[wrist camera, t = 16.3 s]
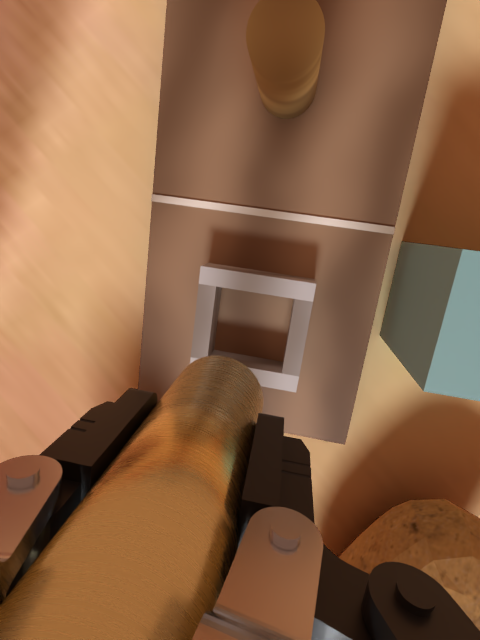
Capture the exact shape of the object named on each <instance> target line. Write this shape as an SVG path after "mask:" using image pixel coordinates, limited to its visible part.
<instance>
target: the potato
mask: <svg viewBox="0 0 480 640" xmlns="http://www.w3.org/2000/svg"><path fill="white" fill-rule="evenodd" d="M339 558H340V559H341V560H343V561H345V562H346V563H348V564H350V565H352V566H354V567H356V568H358V569H360V570H362V571H364V572H366V573H368V574H370V573H371V571H372V570H373V569H374V568H375V567H376V566H377V565H379V564H381V563H384V562H400V563H404V564H408V565H411V566H413V567H415V568H417V569H420V570H421V571H423V572H425V573H426V574H428V575H429V576H431V577H432V578H433V579H435V580H436V581H437V582H438V583H439V584H440V585H441V586H443V588H444V589H445V590H446V591H447V592H448V593H449V594H450V595H451V597H452V598H453V599H454V600H455V601H456V603H457V604H458V605H459V606H460V608H461V609H462V610H463V611H464V612H465V614H466V615H467V616H468V617H469V618H470V620H471V621H472V622H473V623H474V624H475V626H476V627H477V628H478V629H479V630H480V519H479V518H478V517H477V516H475V515H473V514H471V513H469V512H468V511H466V510H464V509H462V508H461V507H459V506H457V505H455V504H454V503H452V502H450V501H448V500H446V499H425V500H409V501H406V502H404V503H402V504H399V505H397V506H394V507H392V508H391V509H389V510H388V511H387V512H386V513H384V514H383V515H382V516H381V517H379V518H378V519H377V520H376V521H374V522H373V523H372V524H371V525H370V526H369V527H368V528H367V529H366V530H365V531H364V532H362V533H361V534H360V535H359V536H358V537H357V538H356V539H355V540H354V541H353V542H352V543H351V544H350V545H349V546H348V548H347V549H346V550H345V551H344V552H343V553H342V554H341V555H340V556H339Z"/></svg>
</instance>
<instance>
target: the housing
mask: <svg viewBox="0 0 480 640" xmlns="http://www.w3.org/2000/svg"><path fill="white" fill-rule="evenodd" d="M380 336H381V338H382V339H383V340H384V341H385V343H386V344H387V345H388V347H389V348H390V349H391V350H392V352H393V353H394V354H395V355H396V357H397V358H398V359H399V361H400V362H401V363H402V364H403V366H404V367H405V368H406V370H407V371H408V372H409V373H410V375H411V376H412V377H413V378H414V380H415V381H416V382H417V384H418V385H419V386H420V387H421V389H422V390H423V391H424V392H430V393H436V394H442V395H447V396H453V397H459V398H464V399H470V400H476V401H480V251H473V250H466V249H458V248H450V247H442V246H434V245H427V244H419V243H411V242H403V241H402V243H401V247H400V252H399V256H398V260H397V265H396V269H395V273H394V277H393V282H392V286H391V290H390V294H389V299H388V303H387V307H386V311H385V316H384V320H383V324H382V328H381V333H380Z"/></svg>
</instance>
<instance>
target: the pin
mask: <svg viewBox="0 0 480 640" xmlns="http://www.w3.org/2000/svg"><path fill="white" fill-rule="evenodd" d="M262 409H263V392H262V388H261V385H260V383H259V381H258V379H257V378H256V376H255V375H254V374H253V372H252V371H251V370H250V369H249V368H248V367H247V366H245V365H244V364H242V363H241V362H239V361H237V360H235V359H232V358H229V357H225V356H206V357H202V358H200V359H197V360H195V361H193V362H192V363H190V364H189V365H188V366H187V367H186V368H185V369H184V370H183V371H182V372H181V374H180V375H179V376H178V377H177V379H176V380H175V381H174V383H173V384H172V385H171V386H170V388H169V389H168V390H167V392H166V393H165V394H164V395H163V397H162V398H161V399H160V401H159V402H158V403H157V404H156V406H155V407H154V408H153V410H152V411H151V412H150V413H149V415H148V416H147V417H146V419H145V420H144V421H143V422H142V424H141V425H140V426H139V428H138V429H137V430H136V431H135V433H134V434H133V435H132V437H131V438H130V439H129V440H128V442H127V443H126V444H125V446H124V447H123V448H122V449H121V451H120V452H119V453H118V454H117V456H116V457H115V458H114V460H113V461H112V462H111V463H110V465H109V466H108V467H107V469H106V470H105V471H104V472H103V474H102V475H101V476H100V478H99V479H98V480H97V481H96V483H95V484H94V485H93V487H92V488H91V489H90V490H89V492H88V493H87V494H86V496H85V497H84V498H83V499H82V501H81V502H80V503H79V505H78V506H77V507H76V508H75V510H74V511H73V512H72V514H71V515H70V516H69V517H68V519H67V520H66V521H65V523H64V524H63V525H62V526H61V528H60V529H59V530H58V531H57V533H56V534H55V535H54V537H53V538H52V539H51V540H50V542H49V543H48V544H47V546H46V547H45V548H44V549H43V551H42V552H41V553H40V555H39V556H38V557H37V558H36V560H35V561H34V562H33V564H32V565H31V566H30V567H29V569H28V570H27V571H26V573H25V574H24V575H23V576H22V578H21V579H20V580H19V582H18V583H17V584H16V585H15V587H14V588H13V589H12V591H11V592H10V593H9V594H8V596H7V597H6V598H5V600H4V601H3V602H2V603H1V605H0V640H192V638H193V636H194V634H195V631H196V629H197V627H198V625H199V622H200V620H201V618H202V616H203V615H204V613H205V612H206V610H210V611H213V609H214V607H215V605H216V602H217V600H218V597H219V595H220V592H221V590H222V587H223V585H224V582H225V580H226V577H227V575H228V572H229V570H230V567H231V565H232V563H233V560H234V558H235V555H236V553H237V550H238V543H239V533H238V526H237V525H238V519H239V512H240V506H241V500H242V495H243V490H244V485H245V479H246V474H247V469H248V464H249V459H250V454H251V449H252V444H253V438H254V433H255V428H256V423H257V418H258V413H262Z"/></svg>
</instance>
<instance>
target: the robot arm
mask: <svg viewBox="0 0 480 640" xmlns="http://www.w3.org/2000/svg"><path fill="white" fill-rule="evenodd" d="M157 401H158V398H157V394H156V393H154V392H149V391H144V390H138V389H133V388H130V389H128V390H127V391H126V392H125V393H124V394H123V395H122V396H121V397H120V398H119V399H118V400H117V401H116V402H115V403H113V402H105V403H103V404H101V405H98V406H96V407H94V408H91V409H90V410H89V411H88V412H87V413H86V414H85V415H84V416H82V417H81V418H80V421H79V420H78V421H77V422H76V423H75V424H73V425H72V426H71V429H68V430H67V431H66V432H65V433H63V434H62V435H61V436H60V437H59V438H58V439H57V440H56V441H54V442H53V443H52V444H51V445H50V446H49V447H48V448H47V449H46V450H44V451H43V452H42V453H41V454H40V455H27V456H20V457H16V458H13V459H9V460H7V461H4V462H2V463H0V605H1V603H2V602H3V601H4V600H5V598H6V597H7V596H8V594H9V593H10V592H11V591H12V589H13V588H14V587H15V585H16V584H17V583H18V582H19V580H20V579H21V578H22V576H23V575H24V574H25V573H26V571H27V570H28V569H29V567H30V566H31V565H32V564H33V562H34V561H35V560H36V558H37V557H38V556H39V555H40V553H41V552H42V551H43V549H44V548H45V547H46V546H47V544H48V543H49V542H50V540H51V539H52V538H53V537H54V535H55V534H56V533H57V531H58V530H59V529H60V528H61V526H62V525H63V524H64V523H65V521H66V520H67V519H68V517H69V516H70V515H71V514H72V512H73V511H74V510H75V508H76V507H77V506H78V505H79V503H80V502H81V501H82V499H83V498H84V497H85V496H86V494H87V493H88V492H89V490H90V489H91V488H92V487H93V485H94V484H95V483H96V481H97V480H98V479H99V478H100V476H101V475H102V474H103V472H104V471H105V470H106V469H107V467H108V466H109V465H110V463H111V462H112V461H113V460H114V458H115V457H116V456H117V454H118V453H119V452H120V451H121V449H122V448H123V447H124V446H125V444H126V443H127V442H128V440H129V439H130V438H131V437H132V435H133V434H134V433H135V431H136V430H137V429H138V428H139V426H140V425H141V424H142V422H143V421H144V420H145V419H146V417H147V416H148V415H149V413H150V412H151V411H152V410H153V408H154V407H155V406H156V404H157ZM283 434H284V417H279V416H274V415H268V414H263V413H258V418H257V423H256V428H255V433H254V438H253V444H252V449H251V454H250V459H249V464H248V469H247V474H246V479H245V485H244V490H243V495H242V500H241V506H240V512H239V519H238V525H237V526H238V533H239V543H238V550H237V553H236V555H235V558H234V560H233V563H232V565H231V567H230V570H229V572H228V575H227V577H226V580H225V582H224V585H223V587H222V590H221V592H220V595H219V597H218V600H217V602H216V605H215V607H214V609H213V611H210V610H206V612H205V613H204V615H203V616H202V618H201V620H200V622H199V625H198V627H197V629H196V631H195V634H194V636H193V638H192V640H480V630H479V629H478V628H477V627H476V626H475V624H474V623H473V622H472V621H471V620H470V618H469V617H468V616H467V615H466V614H465V612H464V611H463V610H462V609H461V608H460V606H459V605H458V604H457V603H456V601H455V600H454V599H453V598H452V597H451V595H450V594H449V593H448V592H447V591H446V590H445V589H444V588H443V586H441V585H440V584H439V583H438V582H437V581H436V580H435V579H433V578H432V577H431V576H429V575H428V574H426V573H425V572H423V571H421V570H420V569H417V568H415V567H413V566H411V565H408V564H404V563H400V562H384V563H381V564H379V565H377V566H376V567H375V568H374V569H373V570H372V571H371V573H370V574H368V573H366V572H364V571H362V570H360V569H358V568H356V567H354V566H352V565H350V564H348V563H346V562H345V561H343V560H341V559H340V558H338V557H337V556H336V555H334V554H333V553H332V552H331V551H330V550H329V549H328V548H327V547H326V546H325V545H324V544H323V539H322V536H321V533H320V531H319V530H318V528H317V527H316V525H315V524H314V511H313V496H312V481H311V468H310V452H309V450H308V449H307V447H306V446H305V445H304V443H303V442H302V440H301V439H296V438H291V437H286V436H283Z"/></svg>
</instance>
